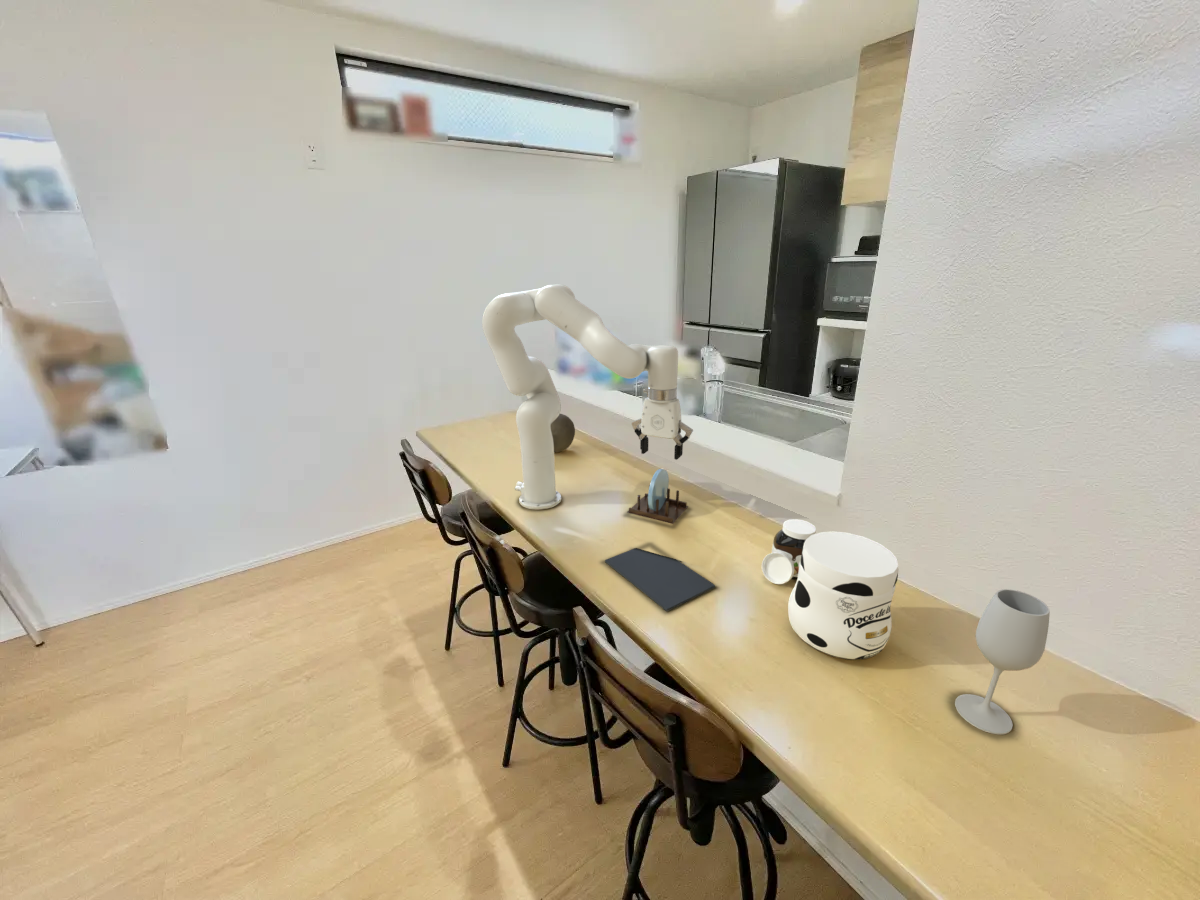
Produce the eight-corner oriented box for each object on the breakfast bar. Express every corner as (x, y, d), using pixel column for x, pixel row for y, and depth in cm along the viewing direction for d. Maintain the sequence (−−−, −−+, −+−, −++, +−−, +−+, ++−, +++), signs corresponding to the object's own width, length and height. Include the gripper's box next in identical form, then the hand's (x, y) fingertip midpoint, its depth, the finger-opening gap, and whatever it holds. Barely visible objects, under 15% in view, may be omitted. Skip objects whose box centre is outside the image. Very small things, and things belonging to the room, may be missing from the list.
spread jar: (815, 566, 114) (822, 521, 110) (818, 594, 104) (827, 547, 100) (761, 557, 118) (766, 513, 114) (759, 584, 108) (765, 537, 104)
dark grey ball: (533, 449, 190) (531, 411, 185) (567, 443, 196) (566, 407, 191) (545, 461, 178) (543, 421, 173) (581, 455, 184) (580, 416, 179)
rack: (626, 515, 139) (626, 496, 137) (644, 498, 149) (644, 480, 146) (673, 527, 132) (674, 507, 130) (688, 509, 142) (689, 490, 140)
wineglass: (941, 696, 80) (975, 587, 72) (985, 692, 80) (1023, 584, 73) (979, 737, 73) (1020, 621, 65) (1027, 733, 73) (1073, 618, 66)
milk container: (882, 684, 82) (904, 594, 76) (775, 645, 91) (787, 561, 84) (888, 624, 96) (908, 543, 89) (795, 595, 104) (807, 520, 98)
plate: (647, 517, 135) (648, 477, 131) (664, 500, 145) (665, 462, 141) (651, 518, 135) (652, 478, 131) (668, 501, 145) (669, 463, 140)
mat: (604, 562, 117) (604, 559, 117) (650, 544, 124) (650, 542, 124) (666, 611, 100) (666, 609, 100) (715, 587, 107) (715, 585, 107)
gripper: (626, 393, 129) (626, 454, 135) (688, 400, 121) (686, 465, 127) (638, 387, 135) (638, 446, 141) (698, 394, 127) (695, 455, 133)
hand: (660, 455), depth 134 cm, fingers open, 9 cm apart
